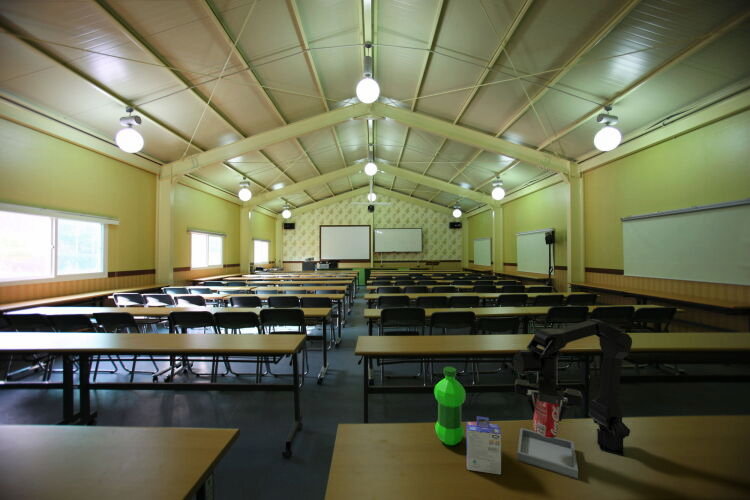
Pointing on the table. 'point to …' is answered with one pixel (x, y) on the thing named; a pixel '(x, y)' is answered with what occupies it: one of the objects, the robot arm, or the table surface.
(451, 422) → the plastic bottle
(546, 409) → the soda can
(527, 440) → the tray
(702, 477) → the table surface
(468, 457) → the ink cartridge box
